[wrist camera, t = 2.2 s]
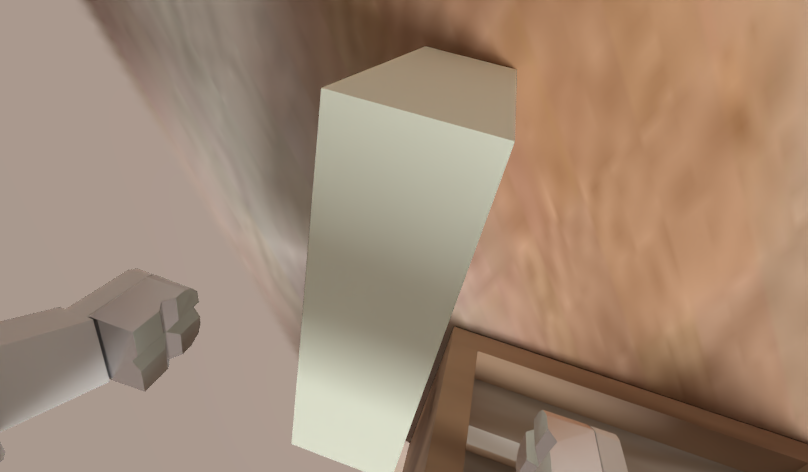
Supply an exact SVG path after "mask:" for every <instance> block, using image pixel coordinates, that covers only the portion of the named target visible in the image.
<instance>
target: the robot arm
mask: <svg viewBox="0 0 808 472" xmlns="http://www.w3.org/2000/svg"><path fill="white" fill-rule="evenodd" d="M198 302H199V301H198V293H197V291H196V290H194V289H192V288H189V287H186V286H183V285H181V284H179V283H176V282H173V281H170V280H168V279H165V278H163V277H160V276H157V275H154V274H151V273H149V272H146V271H143V270H140V269H138V268H135V269H131V270H127V271H126V272H124V273H122V274H121V275H119V276H118V277H116V278H114V279H113V280H111V281H110V282H108V283H106V284H105V285H103V286H102V287H100V288H98V289H97V290H95V291H94V292H92V293H91V294H89V295H87V296H86V297H84V298H83V299H81V300H79V301H78V302H76V303H75V304H73V305H71V306H70V307H68V308H67V309H64V308H61V307H58V308H53V309H50V310H45V311H41V312H37V313H33V314H29V315H25V316H21V317H17V318H13V319H8V320H4V321H0V432H2V431H4V430H7V429H9V428H11V427H13V426H15V425H17V424H20V423H22V422H24V421H26V420H28V419H30V418H32V417H35V416H37V415H39V414H41V413H43V412H45V411H48V410H50V409H52V408H54V407H56V406H58V405H60V404H63V403H65V402H67V401H69V400H71V399H73V398H75V397H78V396H80V395H82V394H84V393H86V392H88V391H91V390H93V389H95V388H97V387H99V386H101V385H104V384H106V383H107V382H109V381H110V379H111V380H114V381H116V382H119V383H122V384H125V385H128V386H131V387H134V388H137V389H139V390H142V391H146V390H147V389H148V388H149V387H150V386H151V385H152V384H153V383H154V382H155V381H156V380H157V379H158V378H159V377H160V376H161V375H162V374H163V373H164V372H165V371H166V370H167V369H168V366H169V359H171V358H173V357H176V356H179V355H181V354H183V353H184V352H185V351H186V350H187V349H188V348H189V347H190V346H191V345H192V343H193V341H194V340H195V338H196V336H197V335H198V332H199V328H200V316H199V314H198V313H197V312H196V310H195V309H194V306H195V305H196V304H197V303H198ZM4 455H5V450H4V448H3V446H2V445H1V443H0V462H1V461H2V460H3V459H4ZM516 472H628V470H627V466H626V462H625V458H624V455H623V451H622V447H621V443H620V440H619V439H618V437H617V436H616V434H613V433H610V432H607V431H604V430H601V429H598V428H595V427H592V426H589V425H587V424H584V423H581V422H578V421H575V420H572V419H569V418H566V417H563V416H560V415H557V414H554V413H551V412H548V411H545V410H541V411H540V412H538V414H537V415H536V417H535V418H534V429H533V430H530V431H527V432H526V433H525V435H524V437H523V438H522V440H521V442H520V446H519V449H518V453H517V460H516Z"/></svg>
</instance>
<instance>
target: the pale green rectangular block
mask: <svg viewBox="0 0 808 472" xmlns="http://www.w3.org/2000/svg"><path fill="white" fill-rule="evenodd" d="M516 86H517V70H516V69H512V68H508V67H504V66H501V65H497V64H493V63H489V62H485V61H481V60H477V59H473V58H469V57H466V56H462V55H458V54H454V53H450V52H446V51H442V50H438V49H434V48H431V47H427V46H425V47H422V48H420V49H417V50H415V51H412V52H410V53H407V54H405V55H402V56H400V57H397V58H395V59H392V60H390V61H387V62H385V63H382V64H380V65H377V66H375V67H372V68H370V69H367V70H365V71H362V72H360V73H357V74H355V75H352V76H349V77H347V78H344V79H342V80H339V81H337V82H334V83H332V84H329V85H327V86H324V87H322V88H321V96H320V108H319V120H318V132H317V144H316V156H315V168H314V180H313V192H312V204H311V216H310V228H309V241H308V253H307V265H306V277H305V289H304V301H303V313H302V325H301V337H300V349H299V361H298V373H297V385H296V397H295V409H294V423H293V433H292V444H293V445H296V446H299V447H301V448H304V449H306V450H309V451H312V452H314V453H317V454H319V455H322V456H325V457H327V458H330V459H332V460H335V461H338V462H340V463H343V464H346V465H348V466H351V467H354V468H356V469H359V470H361V471H364V472H394V470H395V467H396V465H397V462H398V459H399V456H400V454H401V451H402V448H403V446H404V443H405V440H406V437H407V435H408V432H409V429H410V426H411V424H412V421H413V418H414V415H415V413H416V410H417V407H418V405H419V402H420V399H421V396H422V394H423V391H424V388H425V385H426V383H427V380H428V377H429V375H430V372H431V369H432V366H433V364H434V361H435V358H436V355H437V353H438V350H439V347H440V345H441V342H442V339H443V336H444V334H445V331H446V328H447V325H448V323H449V320H450V317H451V314H452V312H453V309H454V306H455V304H456V301H457V298H458V295H459V293H460V290H461V287H462V284H463V282H464V279H465V276H466V274H467V271H468V268H469V265H470V263H471V260H472V257H473V254H474V252H475V249H476V246H477V243H478V241H479V238H480V235H481V233H482V230H483V227H484V224H485V222H486V219H487V216H488V213H489V211H490V208H491V205H492V203H493V200H494V197H495V194H496V192H497V189H498V186H499V183H500V181H501V178H502V175H503V173H504V170H505V167H506V164H507V162H508V159H509V156H510V153H511V151H512V148H513V145H514V142H515V120H516Z"/></svg>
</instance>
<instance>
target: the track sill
mask: <svg viewBox="0 0 808 472" xmlns="http://www.w3.org/2000/svg"><path fill="white" fill-rule="evenodd" d="M541 410H545V411H548V412H551V413H554V414H557V415H560V416H563V417H566V418H569V419H572V420H575V421H578V422H581V423H584V424H587V425H589V426H592V427H595V428H598V429H601V430H604V431H607V432H610V433H613V434H616V436H617V437H618V439H619V440H620V443H621V447H622V451H623V455H624V458H625V462H626V466H627V470H628V472H808V444H805V443H802V442H799V441H796V440H793V439H790V438H787V437H784V436H781V435H778V434H775V433H772V432H769V431H766V430H763V429H760V428H757V427H754V426H751V425H748V424H745V423H742V422H739V421H736V420H733V419H730V418H727V417H724V416H721V415H718V414H715V413H712V412H709V411H706V410H703V409H700V408H697V407H694V406H691V405H688V404H685V403H682V402H679V401H676V400H673V399H670V398H667V397H664V396H661V395H658V394H655V393H652V392H649V391H646V390H643V389H640V388H637V387H634V386H631V385H628V384H625V383H622V382H619V381H616V380H613V379H610V378H607V377H604V376H601V375H598V374H595V373H592V372H589V371H586V370H583V369H580V368H577V367H574V366H571V365H568V364H565V363H562V362H559V361H556V360H553V359H550V358H547V357H544V356H541V355H538V354H535V353H532V352H529V351H526V350H523V349H520V348H517V347H514V346H511V345H508V344H505V343H502V342H499V341H496V340H493V339H490V338H487V337H484V336H481V335H478V334H475V333H472V332H469V331H466V330H463V329H460V328H457V327H454V328H453V331H452V334H451V336H450V339H449V341H448V344H447V347H446V349H445V352H444V355H443V357H442V360H441V362H440V365H439V368H438V370H437V373H436V376H435V378H434V381H433V384H432V386H431V389H430V391H429V394H428V397H427V399H426V402H425V405H424V407H423V410H422V412H421V415H420V418H419V420H418V423H417V426H416V428H415V431H414V434H413V436H412V439H411V441H410V444H409V448H408V452H407V456H406V460H405V464H404V468H403V472H516V460H517V453H518V449H519V446H520V442H521V440H522V438H523V437H524V435H525V433H526V432H527V431H530V430H533V429H534V418H535V417H536V415H537V414H538V412H540V411H541Z"/></svg>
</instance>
